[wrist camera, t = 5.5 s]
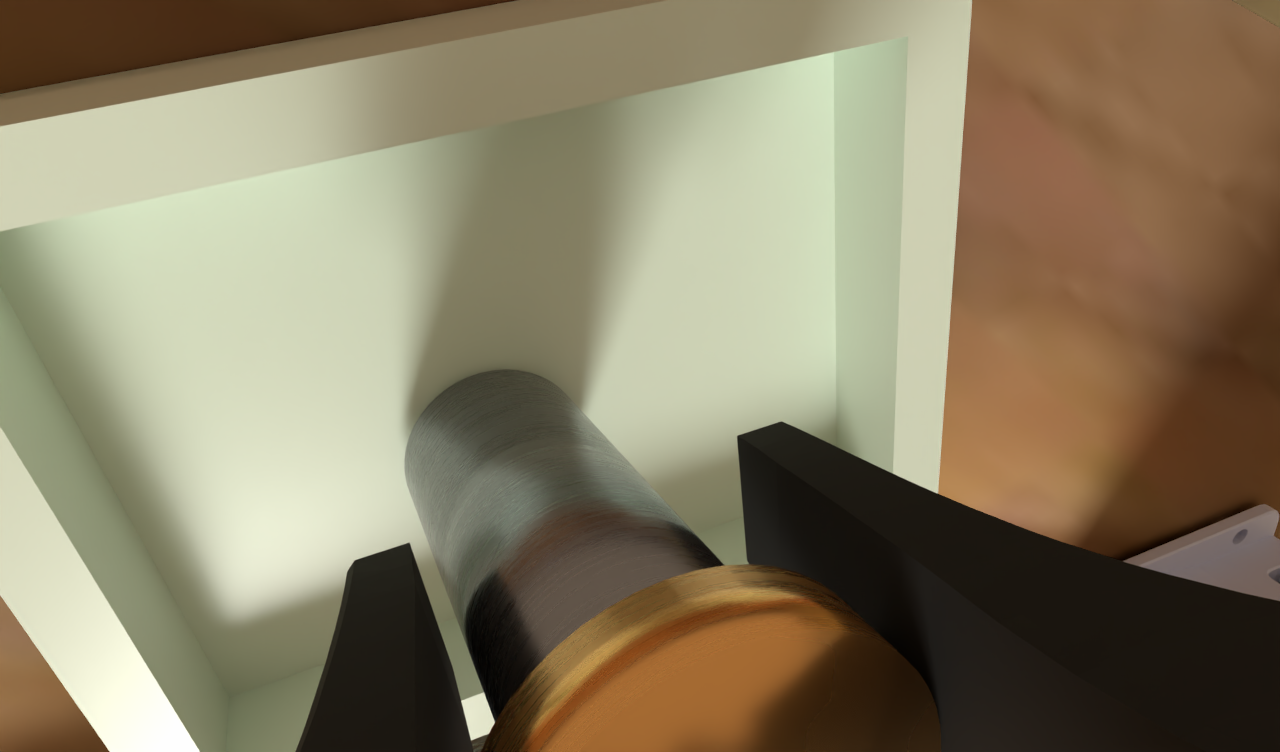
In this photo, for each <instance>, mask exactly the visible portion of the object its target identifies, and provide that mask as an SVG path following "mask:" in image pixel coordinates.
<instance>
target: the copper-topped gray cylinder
mask: <svg viewBox="0 0 1280 752" xmlns="http://www.w3.org/2000/svg"><path fill="white" fill-rule="evenodd" d="M404 472H405V478H406V483H407V486H408V489H409V492H410V495H411V498H412V500H413V503H414V506H415V508H416V511H417V514H418V517H419V519H420V522H421V525H422V527H423V530H424V533H425V535H426V538H427V541H428V543H429V546H430V549H431V552H432V554H433V557H434V560H435V562H436V565H437V568H438V570H439V573H440V576H441V578H442V581H443V584H444V586H445V589H446V592H447V595H448V597H449V600H450V603H451V605H452V608H453V611H454V613H455V616H456V619H457V621H458V624H459V627H460V630H461V632H462V635H463V638H464V640H465V643H466V646H467V648H468V651H469V654H470V656H471V659H472V662H473V664H474V667H475V670H476V673H477V675H478V678H479V681H480V683H481V686H482V689H483V691H484V694H485V697H486V699H487V702H488V705H489V708H490V710H491V713H492V716H493V718H494V721H495V724H494V725H493V727H492V728H491V731H490V733H489V735H488V737H487V739H486V741H485V743H484V746H483V748H482V750H481V752H941V729H940V723H939V718H938V712H937V707H936V705H935V702H934V699H933V697H932V694H931V692H930V689H929V687H928V686H927V684H926V683H925V681H924V679H923V678H922V676H921V675H920V673H919V672H918V671H917V670H916V669H915V668H914V667H913V666H912V665H911V663H910V662H909V661H908V660H907V659H906V658H905V657H904V656H903V655H901V654H900V653H899V652H898V651H897V650H896V649H895V648H894V647H893V646H892V645H891V644H890V643H888V642H887V641H886V640H885V639H884V638H883V637H882V636H881V635H880V634H879V633H878V632H877V631H876V630H874V629H873V628H872V627H871V626H870V625H869V624H868V623H867V622H866V621H865V620H864V619H863V618H861V617H860V616H859V615H858V614H857V613H856V612H855V611H854V610H853V609H852V608H851V607H850V606H849V605H847V604H846V603H845V602H844V601H843V600H842V599H841V598H840V597H839V596H838V595H837V594H836V593H834V592H833V591H832V590H830V589H829V588H827V587H826V586H824V585H823V584H821V583H820V582H818V581H817V580H814V579H812V578H810V577H808V576H805V575H803V574H801V573H799V572H795V571H791V570H787V569H783V568H780V567H775V566H765V565H754V564H744V565H724V564H723V563H722V562H721V561H720V560H719V559H718V558H717V557H716V556H715V554H714V553H713V552H712V551H711V550H710V549H709V548H708V547H707V546H706V545H705V544H704V543H703V541H702V540H701V539H700V538H699V537H698V536H697V535H696V534H695V533H694V532H693V531H692V530H691V528H690V527H689V526H688V525H687V524H686V523H685V522H684V521H683V520H682V519H681V518H680V517H679V515H678V514H677V513H676V512H675V511H674V510H673V509H672V508H671V507H670V506H669V505H668V504H667V503H666V501H665V500H664V499H663V498H662V497H661V496H660V495H659V494H658V493H657V492H656V491H655V490H654V488H653V487H652V486H651V485H650V484H649V483H648V482H647V481H646V480H645V479H644V478H643V477H642V475H641V474H640V473H639V472H638V471H637V470H636V469H635V468H634V467H633V466H632V465H631V464H630V462H629V461H628V460H627V459H626V458H625V457H624V456H623V455H622V454H621V453H620V452H619V451H618V449H617V448H616V447H615V446H614V445H613V444H612V443H611V442H610V441H609V440H608V439H607V438H606V437H605V435H604V434H603V433H602V432H601V431H600V430H599V429H598V428H597V427H596V426H595V425H594V424H593V422H592V421H591V420H590V419H589V418H588V417H587V416H586V415H585V414H584V413H583V412H582V411H581V409H580V408H579V407H578V406H577V405H576V404H575V403H574V402H573V401H572V400H571V399H570V398H569V396H568V395H567V394H566V393H565V392H564V391H562V390H561V389H560V388H559V387H558V386H557V385H555V384H554V383H552V382H551V381H549V380H547V379H545V378H543V377H541V376H539V375H536V374H533V373H530V372H526V371H521V370H510V369H503V370H492V371H487V372H481V373H478V374H475V375H472V376H469V377H467V378H465V379H463V380H460V381H458V382H457V383H455V384H453V385H452V386H450V387H448V388H447V389H446V390H444V391H443V392H442V393H440V394H439V395H438V396H437V397H436V398H435V399H434V400H433V401H432V402H431V403H430V404H429V405H428V406H427V407H426V408H425V410H424V411H423V412H422V414H421V415H420V416H419V418H418V420H417V421H416V423H415V425H414V427H413V429H412V431H411V434H410V436H409V439H408V443H407V446H406V451H405V459H404Z"/></svg>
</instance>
